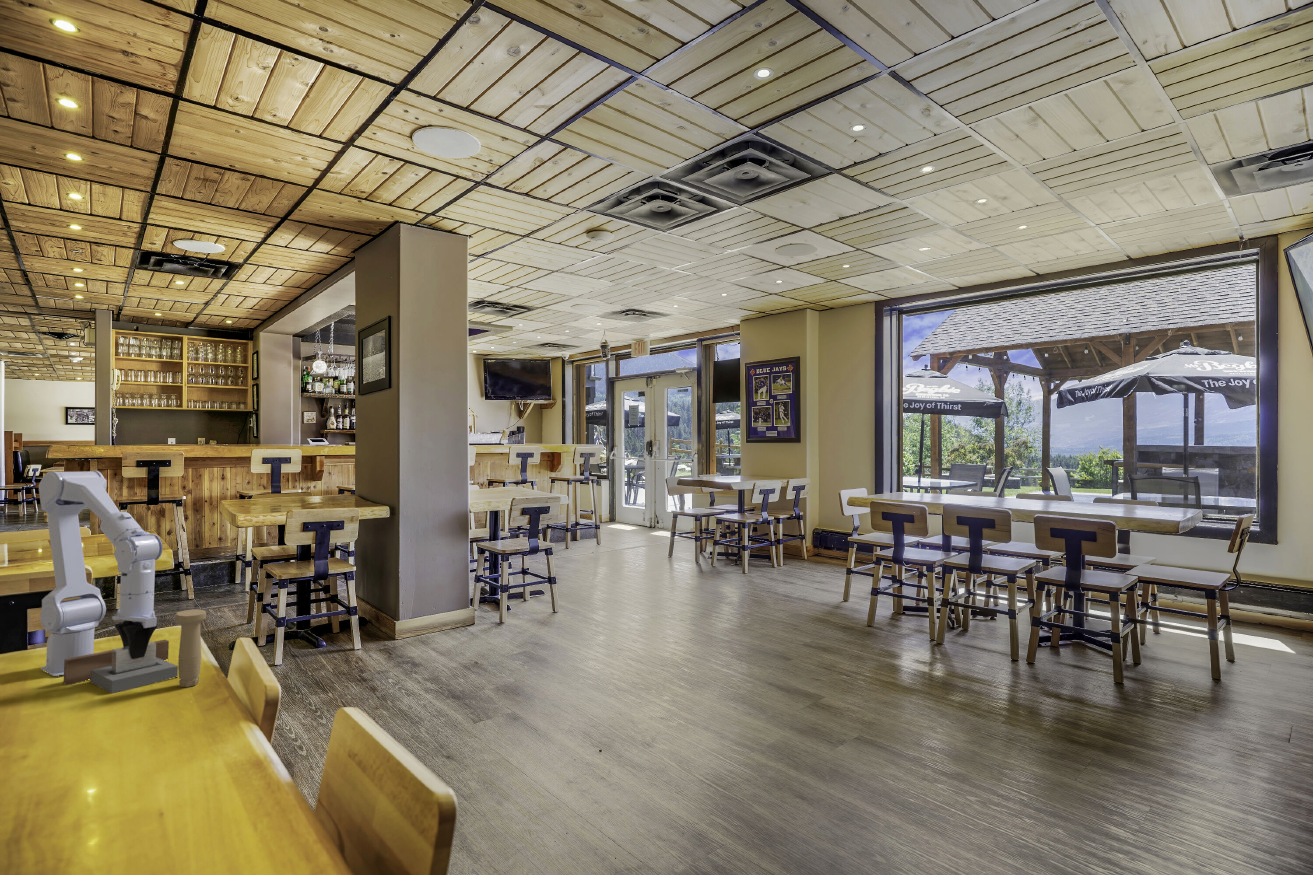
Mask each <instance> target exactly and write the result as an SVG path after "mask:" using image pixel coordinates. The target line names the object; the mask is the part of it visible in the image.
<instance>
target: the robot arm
mask: <svg viewBox="0 0 1313 875" xmlns="http://www.w3.org/2000/svg"><path fill="white" fill-rule="evenodd" d="M107 486H108V485H107V479H106V478H105V477H104V474H102V472H101V471H99V470H91V471H90V470H89V471H53V470H50V471H48V472H46V473H45V474H44V475H43V476H42V478H41V480H40V482H39V483H38V493H39V500H40V501H39V502H40V507H41V511H44V512H46V518H47V519H46V520H47V526H48V534H49V542H50V549H51V559H52V566H53V572H54V573H53V574H54V580H55V588H54V589H53V590H52V591H50V592H49V593H48V594H47V595H45V596H44V597H43V598H42V599H41V612H40V617H39V620H40V624H41V626H42V627H43V629H45V631H46V632H47V633H50V634H49V635H48V638H47V639H46V640H47V641H46V663H45V666H41V667H40V668H41V669H42V670H44V671H46V672H48V673H49V674H48V673H47V674H48V675H50V676H52V677H53V676H58V677H60V676H59V675H63V676H64V659H68V658H73V657H78V656H83V655H88V654H93V653H95V652H94V650H95V646H94V645H95V629H96V627H99V623H100V622H102V620H103V619H104V617H105V615H106V611H107V607H106V606H107V605H106V602H105V600H104V599H103V597H102V594H101V589H100V588H99V587H97V586H95V585H93V584H91V583H89V582H88V581H87V573H86V565H85V564H86V563H85V558H84V551H83V541H82V535H81V529H80V520H79V515H80V513H81V512H82V510H85V509H89V510H90V511H91V512H93V514H94V515H95V516H96V517H97V518H99V519H100V521H101V523H100V526H99V528H100V530H101V532H102V533H103V534H104V536H106V538H107V539H108V540H109V542H110V543H111V544H112V545H113V546H114V547H115V549H114V550H113V553H114V558H115V561H116V563H117V571H118V573H120V589H119V590H120V591H119V592H120V594H119V608H118V609H117V611H116V612H117V614H116V615H113V616H112V617H111V618H112V620H113V621H122V622H119V623H115V624H114V628H115V629H116V630H117V632H118V635H119V636H120V639H121V643H122V645H123V647H127V646H129V649H130V655H131V658H132V659H136V658H141V657H144V656H145V653H146V650H147V646H148V643H149V642H150V640H151V638H152V637H153V636H152V635H153V633H154V632H155V630H156V629H158V628H157V627H158V625H159V624H158V623H157V619H158V618H157V616H155V614H156V613H155V612H156V611H155V610H154V609H155V608H154V606H155V576H156V561H157V560H159V559H160V558H161V556H162V554H163V551H164V550H163V548H164V547H163V542H162V540H161V538H160V537H159V535H157V534H155V533H150V532H148V531H145V530H144V529H143V528H142V527H141V526H140V524H139V523H138V522H137V520H136V519H134V517H133V516H132V515H131V514H130V513H129V512H126V511H121V510H119V508H118V507H117V506H116V504H115V501H113V499H112V498H111V496H110V495H109V493H108V492H107ZM67 599H69V600H67ZM41 669H40V670H41ZM42 670H41V671H42ZM44 671H43V672H44ZM46 672H45V673H46Z"/></svg>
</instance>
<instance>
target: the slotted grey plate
mask: <svg viewBox="0 0 1313 875" xmlns="http://www.w3.org/2000/svg"><path fill="white" fill-rule="evenodd" d="M111 673H112V666H108V667H103V668H99V669H94V670H91V673H90V680H89V682H90V683H91V682H92V683H91V684H93V685H95V686H97V687H98V688H100V687H101V689H102V690H104V689H105V690H104V691H106V692H108V693H110V694H115V693H119V692H123V691H127V690H132V689H135V688H140V686H141V687H144V686H143V685H145V686H149V685H152V684H151V683H153V684H156V683H155V682H157V683H160V682H159V681H162V680H166V679H169V678H173V677H176V676H177V677H178V676H179V670H178V664H177V665H176V664H173V663H171V662H169V661H168V662H167V661H164V660H162V659H159V658H157V657H156V666H152V667H148V668H143V669H139V670H134V671H130V672H125V673H121V674H116V675H112V674H111ZM166 681H167V680H166ZM162 682H163V681H162ZM148 684H149V685H148Z"/></svg>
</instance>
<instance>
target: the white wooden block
mask: <svg viewBox="0 0 1313 875" xmlns="http://www.w3.org/2000/svg"><path fill="white" fill-rule="evenodd" d="M111 650H112V673H111V674H112V675H116V674H121V673H125V672H130V671H134V670H139V669H143V668H148V667H152V666H156V643H155V641H149V643H148V646H147V650H146V653H145V656H144V657H141V658H136V659H132V658H131V655H130V649H129V646H127V647H122V646H121V647H117V648H112V649H111Z"/></svg>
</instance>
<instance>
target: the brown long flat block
mask: <svg viewBox="0 0 1313 875" xmlns="http://www.w3.org/2000/svg"><path fill="white" fill-rule="evenodd" d="M154 642H155V643H156V657H157V658H159V659H162V660H166V659H168V660H169V648H170V647H169V645H170V640H167V639H161V640H155V641H154ZM108 666H112V649H110V650H105V651H101V652H94V653H93V654H88V655H83V656H78V657H73V658H68V659H64V675H63V684H64V683H65V684H64V685H66V686H69V684H70V685H73V684H72V683H74V684H77V683H76V682H79V683H81V681H83V682H86V681H85V680H88V679H90V673H91V670H94V669H99V668H103V667H108ZM88 681H89V680H88Z"/></svg>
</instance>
